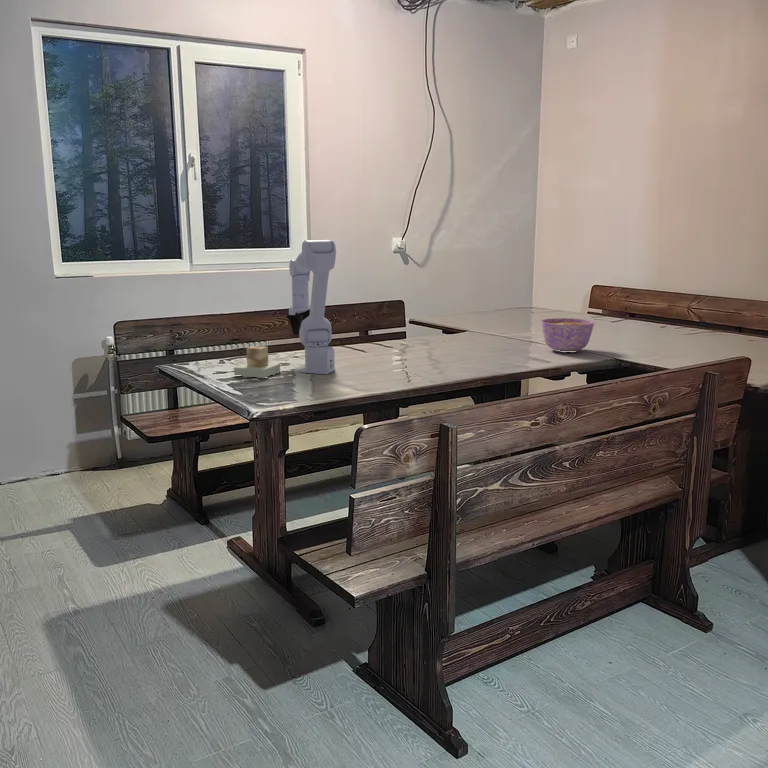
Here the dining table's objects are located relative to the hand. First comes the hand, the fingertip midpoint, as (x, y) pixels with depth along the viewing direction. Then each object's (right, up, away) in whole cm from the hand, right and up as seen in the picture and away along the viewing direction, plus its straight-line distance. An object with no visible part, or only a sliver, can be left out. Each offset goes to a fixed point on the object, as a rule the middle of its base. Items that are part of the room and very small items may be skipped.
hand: (301, 333), depth 272 cm
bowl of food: (+100, -6, +25) cm, 103 cm away
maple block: (-12, -12, -20) cm, 26 cm away
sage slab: (-12, -15, -19) cm, 27 cm away
